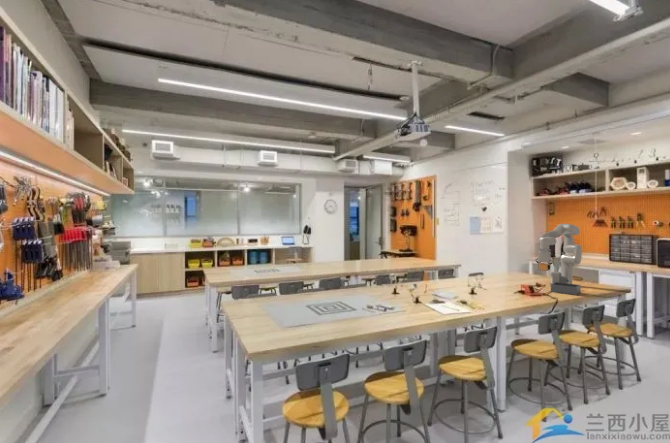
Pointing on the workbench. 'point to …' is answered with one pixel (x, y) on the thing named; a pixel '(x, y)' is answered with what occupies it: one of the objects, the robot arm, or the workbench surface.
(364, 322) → the workbench surface
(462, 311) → the workbench surface
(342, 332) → the workbench surface
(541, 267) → the small crate
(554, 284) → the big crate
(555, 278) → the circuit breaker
